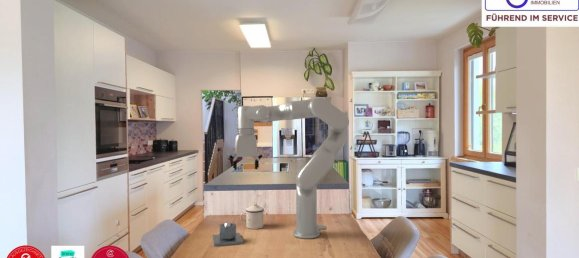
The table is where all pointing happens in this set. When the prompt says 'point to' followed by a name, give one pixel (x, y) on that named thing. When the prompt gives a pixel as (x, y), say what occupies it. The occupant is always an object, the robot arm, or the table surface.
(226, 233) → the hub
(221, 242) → the shaft block
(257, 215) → the teacup with lid
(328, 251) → the table surface
